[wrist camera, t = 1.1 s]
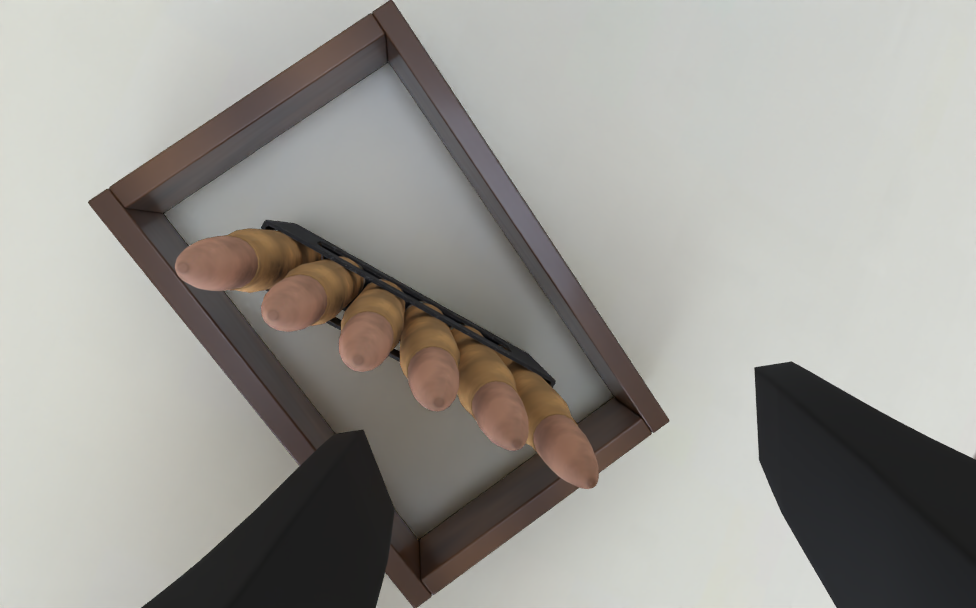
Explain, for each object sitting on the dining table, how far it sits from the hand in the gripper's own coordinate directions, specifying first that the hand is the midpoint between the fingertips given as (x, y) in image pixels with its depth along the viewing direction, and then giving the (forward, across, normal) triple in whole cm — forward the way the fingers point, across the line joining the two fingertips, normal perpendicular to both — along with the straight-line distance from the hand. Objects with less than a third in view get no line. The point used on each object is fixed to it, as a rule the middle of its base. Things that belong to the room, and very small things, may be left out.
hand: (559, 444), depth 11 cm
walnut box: (+12, +6, +2) cm, 13 cm away
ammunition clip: (+12, +6, +2) cm, 13 cm away
